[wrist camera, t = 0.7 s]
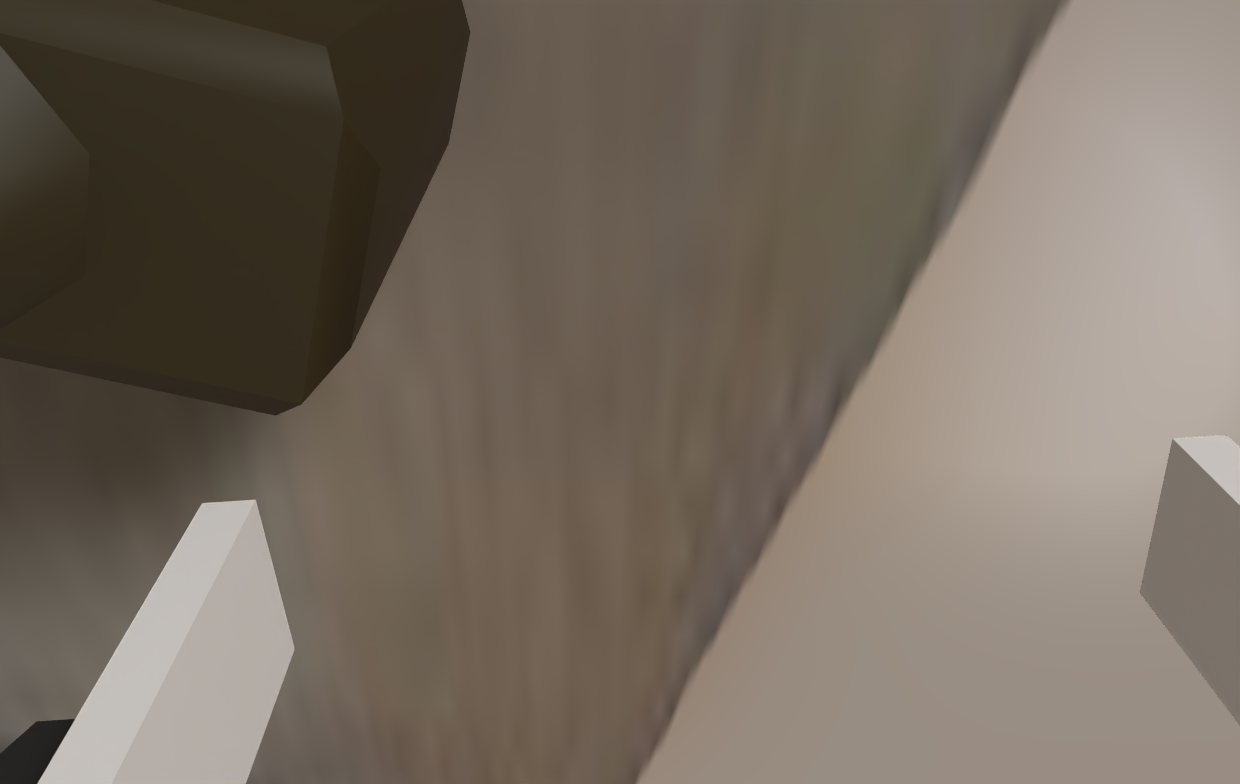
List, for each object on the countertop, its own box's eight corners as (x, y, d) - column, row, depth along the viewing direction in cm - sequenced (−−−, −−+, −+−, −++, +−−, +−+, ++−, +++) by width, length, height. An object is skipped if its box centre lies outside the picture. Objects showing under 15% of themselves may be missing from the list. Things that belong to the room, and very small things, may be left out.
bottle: (2, -165, 34) (-1086, -212, 12) (484, -31, 36) (328, 143, 14) (1, 78, 38) (-843, 395, 15) (441, 187, 40) (262, 600, 18)
